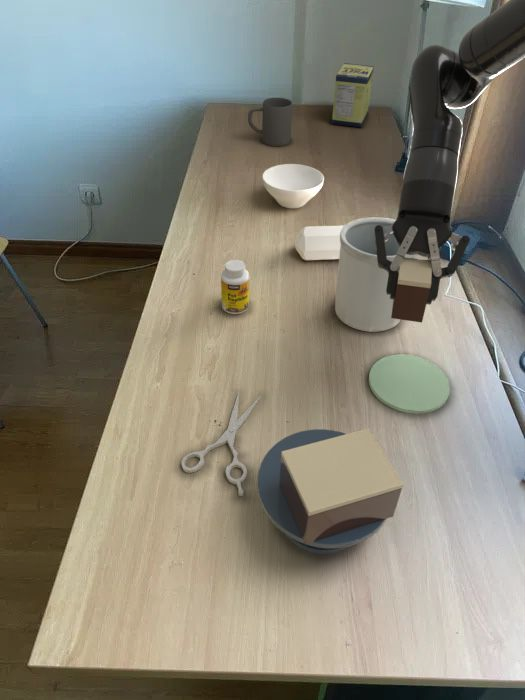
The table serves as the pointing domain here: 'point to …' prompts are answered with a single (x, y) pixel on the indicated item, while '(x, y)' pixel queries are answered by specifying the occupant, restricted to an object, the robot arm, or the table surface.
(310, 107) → the table surface
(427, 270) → the cake slice
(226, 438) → the scissors
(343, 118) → the protein box
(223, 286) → the supplement bottle
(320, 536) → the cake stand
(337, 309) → the utensil holder
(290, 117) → the mug
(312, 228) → the crystal
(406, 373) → the plate
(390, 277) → the robot arm
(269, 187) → the bowl
